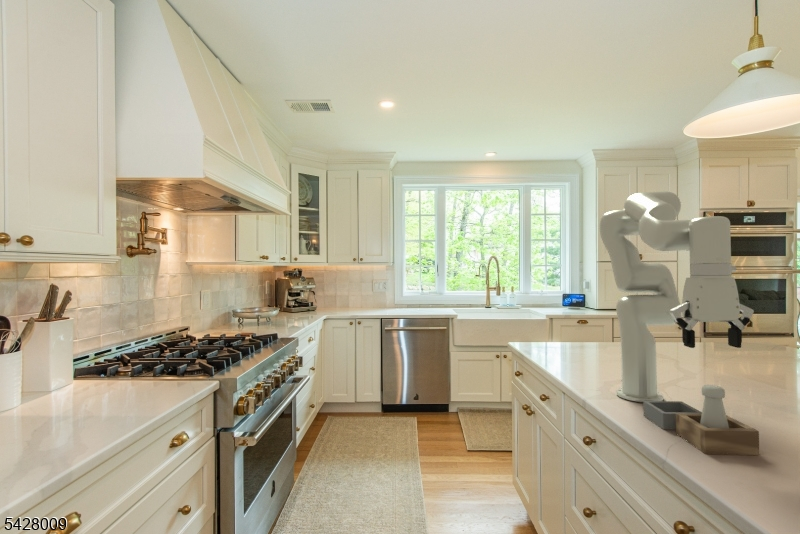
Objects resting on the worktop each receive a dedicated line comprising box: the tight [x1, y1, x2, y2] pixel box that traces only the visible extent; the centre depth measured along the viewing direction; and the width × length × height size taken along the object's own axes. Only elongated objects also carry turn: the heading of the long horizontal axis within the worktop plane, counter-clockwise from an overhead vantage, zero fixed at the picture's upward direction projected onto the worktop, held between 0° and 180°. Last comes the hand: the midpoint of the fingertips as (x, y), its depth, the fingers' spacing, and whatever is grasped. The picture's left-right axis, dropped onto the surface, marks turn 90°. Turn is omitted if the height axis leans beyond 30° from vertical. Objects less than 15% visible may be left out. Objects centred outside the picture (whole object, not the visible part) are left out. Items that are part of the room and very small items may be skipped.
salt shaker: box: [700, 384, 729, 428], centre depth 93 cm, size 6×6×13 cm
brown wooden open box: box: [675, 413, 761, 456], centre depth 93 cm, size 11×11×5 cm
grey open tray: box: [642, 400, 702, 430], centre depth 106 cm, size 10×10×4 cm
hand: (711, 346), depth 94 cm, fingers open, 9 cm apart
